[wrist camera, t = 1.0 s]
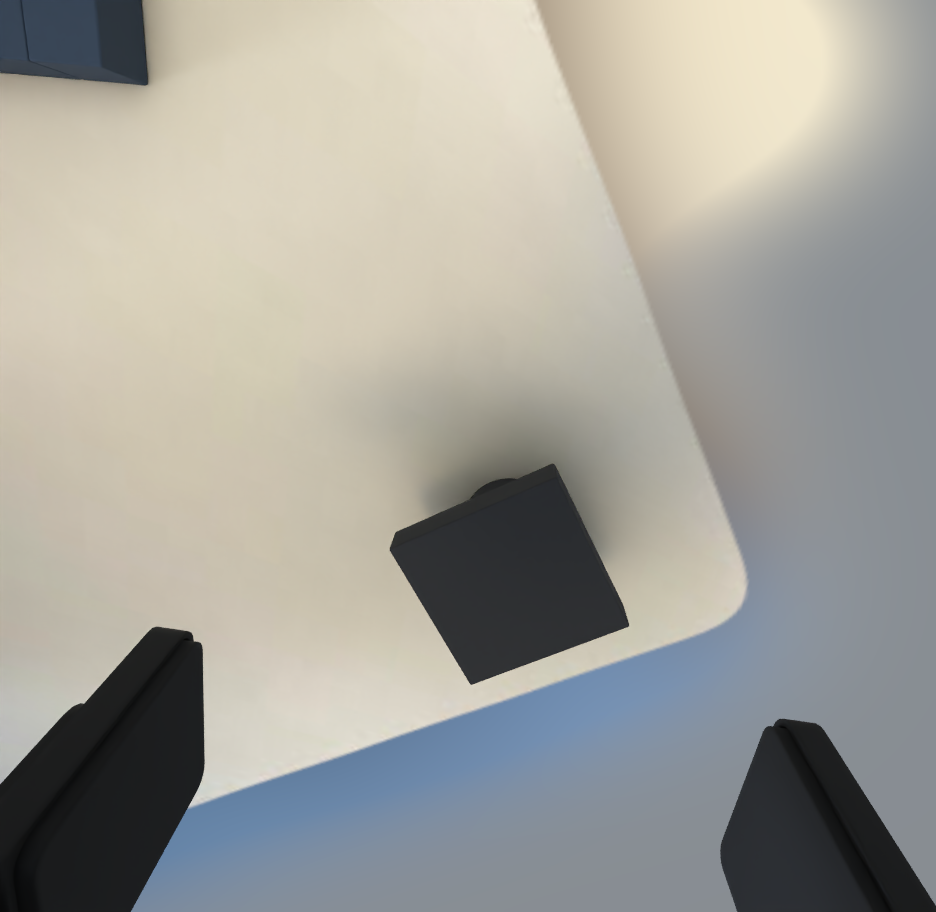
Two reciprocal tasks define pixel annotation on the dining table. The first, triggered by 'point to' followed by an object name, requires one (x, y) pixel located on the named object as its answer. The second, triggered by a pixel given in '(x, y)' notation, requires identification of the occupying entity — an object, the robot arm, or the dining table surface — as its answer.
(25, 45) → the base pad
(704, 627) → the dining table surface
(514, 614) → the black pad
